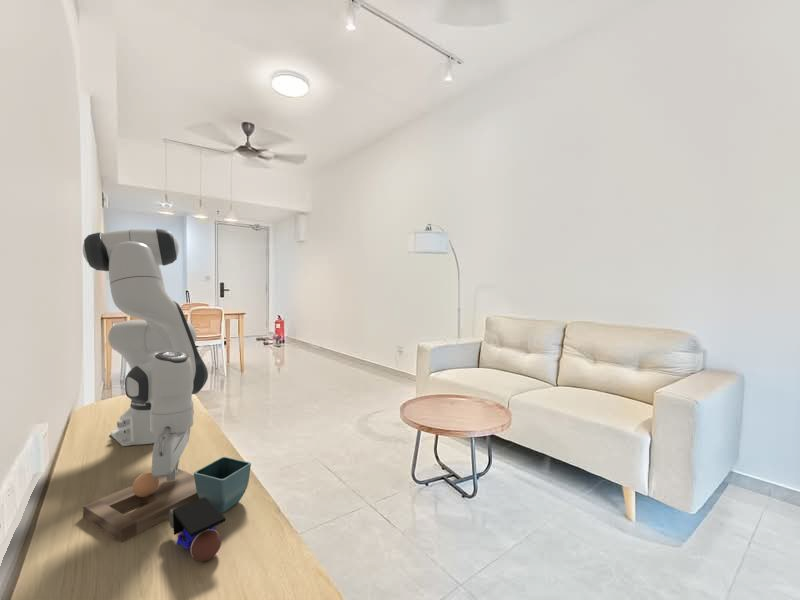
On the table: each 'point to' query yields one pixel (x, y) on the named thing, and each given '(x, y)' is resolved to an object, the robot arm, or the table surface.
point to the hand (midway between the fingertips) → (172, 477)
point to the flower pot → (223, 482)
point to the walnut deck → (152, 513)
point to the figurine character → (197, 528)
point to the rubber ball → (145, 485)
